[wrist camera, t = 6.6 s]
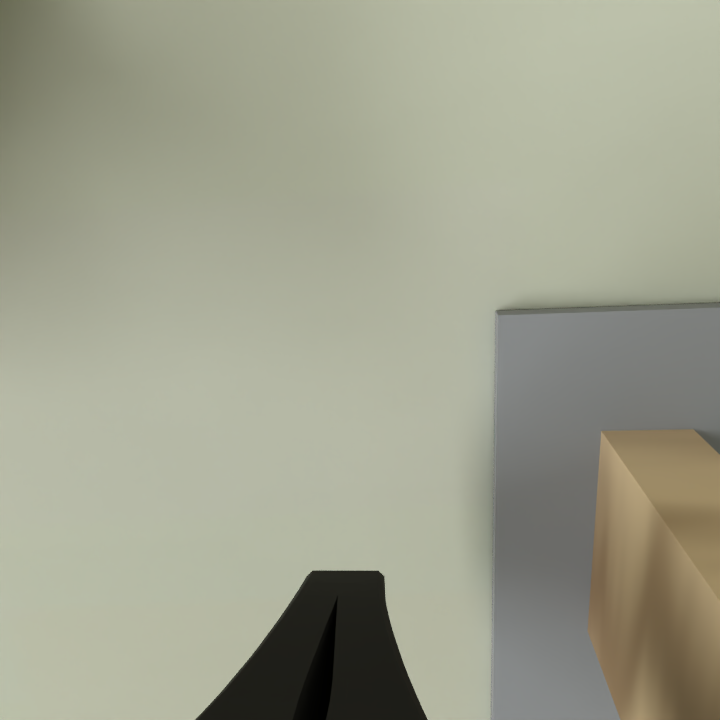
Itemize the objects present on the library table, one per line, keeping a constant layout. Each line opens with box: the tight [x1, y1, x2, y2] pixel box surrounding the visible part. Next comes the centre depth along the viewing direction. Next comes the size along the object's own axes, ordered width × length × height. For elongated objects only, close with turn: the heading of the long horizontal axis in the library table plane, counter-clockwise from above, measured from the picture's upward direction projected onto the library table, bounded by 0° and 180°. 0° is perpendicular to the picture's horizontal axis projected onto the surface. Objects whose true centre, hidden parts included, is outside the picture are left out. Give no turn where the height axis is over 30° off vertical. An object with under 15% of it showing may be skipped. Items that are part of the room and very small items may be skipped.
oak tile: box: [588, 429, 720, 720], centre depth 10 cm, size 5×2×6 cm, turn 3°
